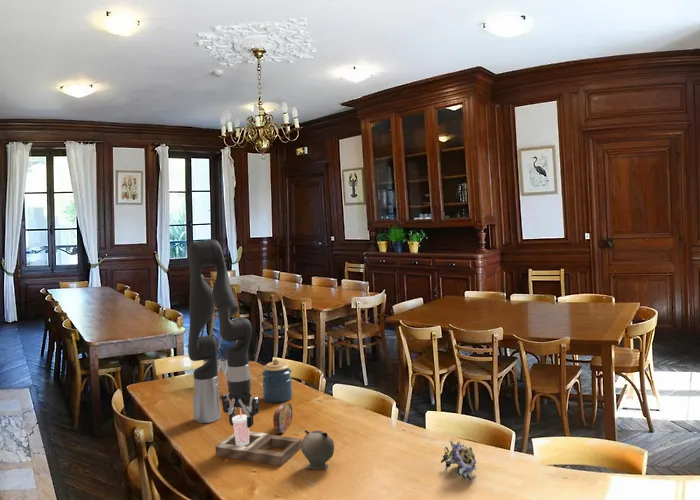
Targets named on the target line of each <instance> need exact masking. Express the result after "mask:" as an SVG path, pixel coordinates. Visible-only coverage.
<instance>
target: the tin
mask: <svg viewBox="0 0 700 500" xmlns="http://www.w3.org/2000/svg"><path fill="white" fill-rule="evenodd" d="M272 418H273V419H272V422H273V428H274V432H275V433H276V434H284V433H285V432H286V431H287V430H288V429H289V428H290V426H291V424H292V422H293V407H292V405H291V403H290V402H286V403H285V402H282V403H281V404H280V405H279V406H278V408H277V409H276V410H275V412H274V414H273V417H272Z"/></svg>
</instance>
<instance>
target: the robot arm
mask: <svg viewBox="0 0 700 500" xmlns="http://www.w3.org/2000/svg"><path fill="white" fill-rule="evenodd" d="M209 266H214V267H215V270H216V276H215V280H214V284H213V287H210V285H209V284H208V283H207V281H206V280H205V278H204V277H203V275H202V268H204V267H209ZM188 267H189V307H188V308H189V330H188V331H189V332H188V341H187V342H188V343H187V354H188V358H189V359H190V360H191V361H192V362H198V361H204V360H207V359H208V361H207V362H206V363H205V364H204V365H203V364H202V365H201V366H199V367H197V368H195V370H193V386H194V395H193V396H192V403H193V404H192V405H193V419H194V421H196V422H197V423H199V424H209V423H214V422H216V421H218V420H220V419H221V404H222V411H223V413H227V415H228V423H229V424H230V426H232V427H234V426H233V422H232V418H233V417H234V416H236V413H235V412H236V411H237V408H239V409H240V408H241V410H243V412H245V414H246V415H247V427H248V428H249V429H250V428H252V427H253V425H254V417H255V416H256V415H257V414H259V408H260V405H259V404H260V397H259V396H252V395H251V389H252V388H251V386H252V385H251V384H252V383H251V372H250V371H251V369H250V365H249V348H250V344H251V343H250V342H251V340H252V339H251V338H252V333H253V327H252V323H251V322H250V320H249V319H248V318H246V317H240V318H233V319H231V318H230V317H232V316H235V315H236V314H237V313H238V312H239V305H238V301H237V299H236V297H235V295H234V291H233V290H232V287H231V283H230V278H229V274H228V269H227V265H226V260H225V257H224V253H223V249H222V247H221V244H220V242H219V241H218V240H216V239H207V240H206V239H205V240H200V241H195V242H191V243H190V244H189V247H188ZM215 308H216V310H217V314H218V321H219V333H220V336H221V337H220V338H221V339H222V340H224V341H225V342H227V343H228V342H229V343H230V342H235V341H237V342H236V344H234V345H233V346H230V347H229V348H228V349H227V350H226V359H227V365H228V367H227V372H226V377H227V386H228V388H227V390H228V391H227V392H228V393H224V394H222V395H221V396H220V387H219V386H218V384H219V372H218V368H217V358H218V342H217V338H216V337H215V335H211V334H209V335H204V336H202V335H201V332H202V330H203V329H204V328H205V326H206V325H207V324H208V323H209V321H210V319H211V318H212V317H213V315H214V312H215ZM200 335H201V336H200ZM220 398H221V404H220Z"/></svg>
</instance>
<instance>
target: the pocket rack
mask: <svg viewBox="0 0 700 500" xmlns="http://www.w3.org/2000/svg"><path fill="white" fill-rule="evenodd" d="M302 440H303V439H302V438H297V437H290V436H284V435H275V434H269V433H268V432H267V433H266V432H259V431H250V430H249V444H248V445H246V446H237V445H236V442H235V434H234V433H233V434H231V435H230V436H229V437H227V438H226V439H224V440H222V441H221V442H220V443H218V444H217V445H215V456H217V457H223V458H229V459H234V460H241V461H247V462H253V463H259V464H266V465H273V466H279V467H280V466H281V467H283V465H284V464H286V463H287V462H288V461H289V460H291V458H292V457H293V456H294V455H296V454H297V453H298V452H299V451H300V450H301V444H302ZM271 448H277V449H283V450H282V451H281V452H280V451H279V452H277V451H271V450H270V449H271Z"/></svg>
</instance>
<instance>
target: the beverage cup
mask: <svg viewBox="0 0 700 500" xmlns="http://www.w3.org/2000/svg"><path fill="white" fill-rule="evenodd" d="M232 422H233V426H232V427H233V432H234V433H233V434H235V442H236V445H237V446H244V447H246V446H248V445H250V444H249V431H250V428H248V427H247V415H246V413H245V414H243V413H242V408H240V407H239V414H237V415H235V416H234V417H233V418H232Z"/></svg>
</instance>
